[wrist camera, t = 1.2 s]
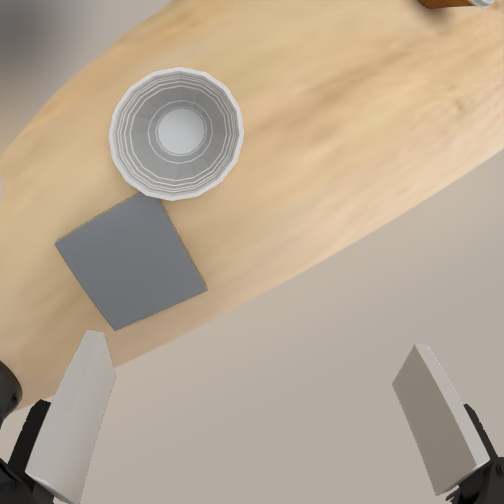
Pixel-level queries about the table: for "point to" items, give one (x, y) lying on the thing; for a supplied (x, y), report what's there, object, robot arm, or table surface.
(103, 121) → the table surface
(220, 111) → the plastic cup
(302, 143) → the table surface
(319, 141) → the table surface
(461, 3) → the disposable coffee cup
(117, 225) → the slate tile
